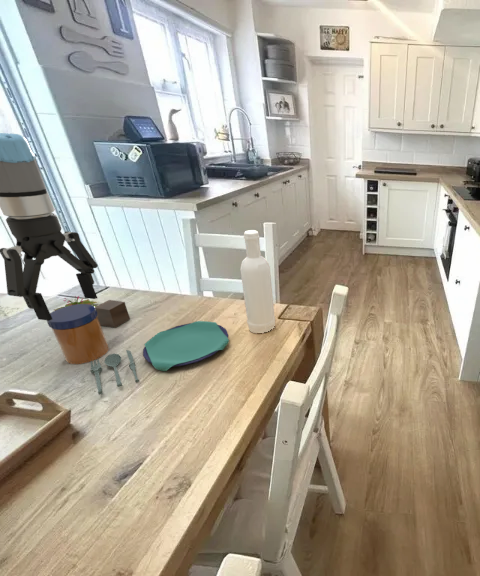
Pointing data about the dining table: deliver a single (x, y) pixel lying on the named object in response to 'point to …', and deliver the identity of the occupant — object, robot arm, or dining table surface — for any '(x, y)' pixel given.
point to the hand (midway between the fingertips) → (69, 307)
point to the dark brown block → (112, 313)
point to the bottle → (257, 286)
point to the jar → (82, 342)
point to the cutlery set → (173, 348)
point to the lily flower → (78, 302)
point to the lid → (72, 316)
